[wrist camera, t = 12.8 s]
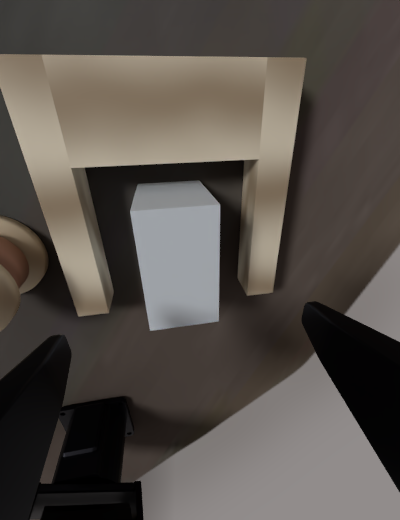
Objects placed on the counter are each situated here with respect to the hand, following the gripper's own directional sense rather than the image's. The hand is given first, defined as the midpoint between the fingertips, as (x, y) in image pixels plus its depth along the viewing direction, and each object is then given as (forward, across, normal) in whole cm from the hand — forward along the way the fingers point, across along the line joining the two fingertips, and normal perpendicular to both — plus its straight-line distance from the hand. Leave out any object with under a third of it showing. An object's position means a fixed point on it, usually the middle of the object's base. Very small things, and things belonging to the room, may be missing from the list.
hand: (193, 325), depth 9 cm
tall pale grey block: (+10, 0, 0) cm, 10 cm away
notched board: (+10, 0, -2) cm, 10 cm away
